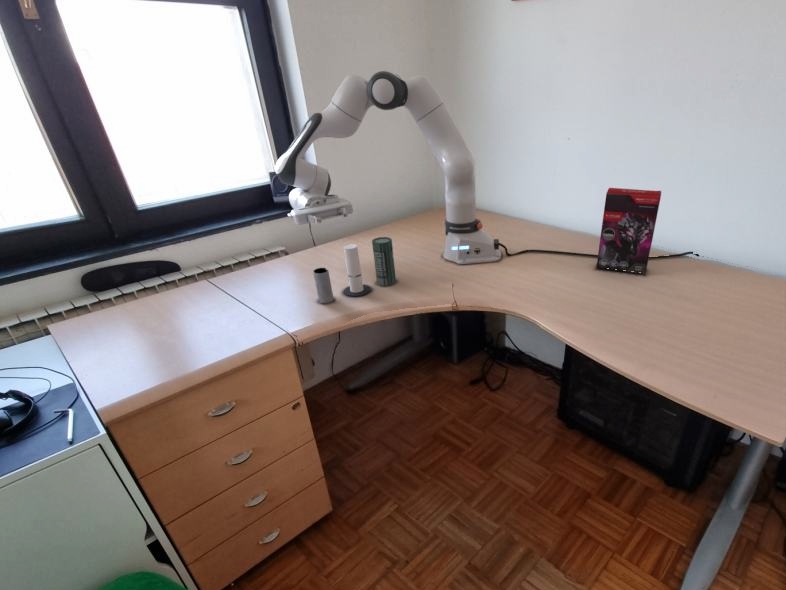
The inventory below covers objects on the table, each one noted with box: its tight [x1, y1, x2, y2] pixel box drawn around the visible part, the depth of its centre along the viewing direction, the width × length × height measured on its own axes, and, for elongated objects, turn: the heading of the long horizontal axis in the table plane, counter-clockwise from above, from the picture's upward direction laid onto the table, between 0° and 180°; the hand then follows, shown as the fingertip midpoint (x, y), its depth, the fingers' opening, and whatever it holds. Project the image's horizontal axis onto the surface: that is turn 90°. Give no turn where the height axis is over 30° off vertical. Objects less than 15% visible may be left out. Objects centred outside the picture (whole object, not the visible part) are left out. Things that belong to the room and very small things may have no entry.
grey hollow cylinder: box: [312, 267, 334, 304], centre depth 143 cm, size 4×4×10 cm
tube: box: [343, 243, 364, 293], centre depth 147 cm, size 4×4×15 cm
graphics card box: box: [596, 187, 662, 275], centre depth 155 cm, size 17×7×27 cm, turn 68°
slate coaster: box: [343, 284, 372, 298], centre depth 151 cm, size 9×9×1 cm
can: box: [371, 236, 397, 287], centre depth 153 cm, size 6×6×15 cm
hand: (332, 217), depth 148 cm, fingers open, 8 cm apart
